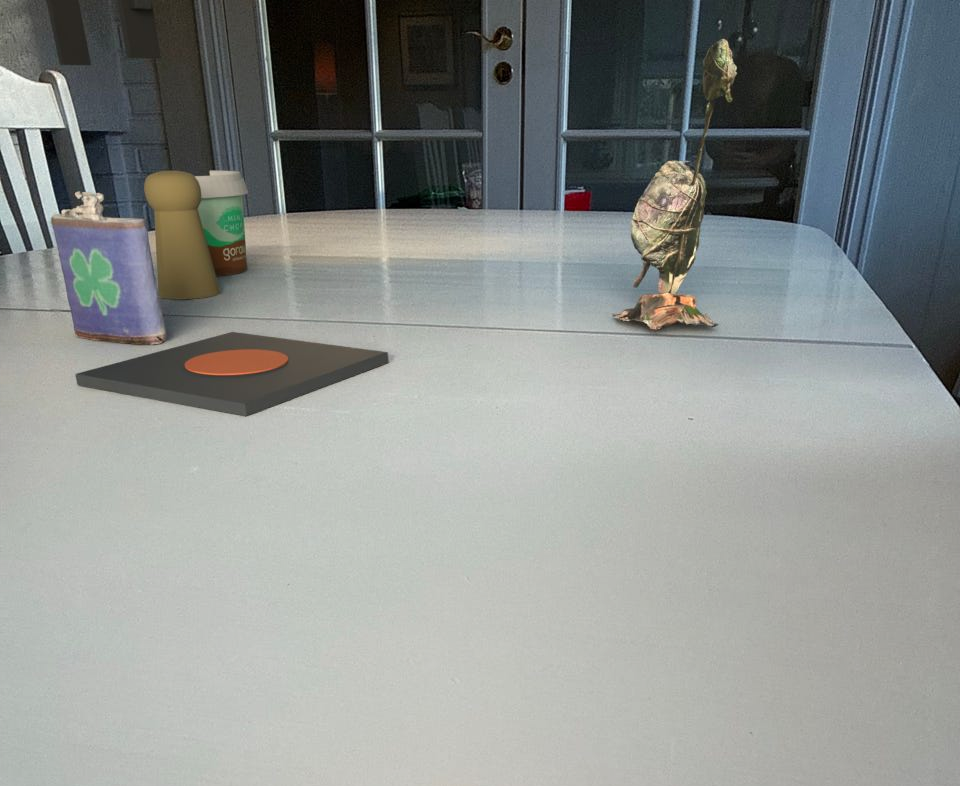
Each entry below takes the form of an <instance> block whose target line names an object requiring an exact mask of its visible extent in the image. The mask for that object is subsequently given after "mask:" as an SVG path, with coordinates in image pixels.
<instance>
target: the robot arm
mask: <svg viewBox="0 0 960 786" xmlns="http://www.w3.org/2000/svg"><path fill="white" fill-rule="evenodd" d="M45 2H46V6H47V10H48V11H47V12H48V15H49V16H48V17H49V21H50V25H51V29H52V34H53V39H54V44H55V48H56V54H57V59H58V62H59V63H58V64H59V66H92V62H91V57H90V51H89V47H88V41H87V37H86V32H85V27H84V22H83V18H82V17H83V15H82V12H81V11H82V10H81V6H80V2H79V0H45ZM116 3H117V4H116V5H117V8H118V15H119V20H120V26H121V31H122V36H123V42H124V48H125V53H126V54H125V55H126V59H145V60H146V59H150V60H151V59H153V60H157V59H162V57H161V49H160V43H159V38H158V32H157V26H156V25H157V24H156V21H155V13H154V7H153V0H116Z"/></svg>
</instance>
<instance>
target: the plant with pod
mask: <svg viewBox="0 0 960 786" xmlns="http://www.w3.org/2000/svg"><path fill="white" fill-rule="evenodd" d="M733 56H734V55H733V51H732V50H731V48H730V46H729V41H728V40H726V39H725V38H722V39H719V40H718V41H716V42H715V43H714V44H713V45H711V46H710V47H709V48H708V50H707V52H706V55H705V57H704V59H703V60H702V65H701V66H702V67H703V68H702V92H703V96H704V98H705V100H706V101H708V103H707V104H706V109H705V114H704V115H705V116H704V117H705V120H704V122H705V123H704V127H703V132H702V136H701V139H700V143H699V146H698V150H697V155H696V161H695V165H694V170H693V169H692V168H691V167H690V166H689V165H686V163H690V162H691V160H684V161H682V160H668V161H667V162H665V163H664V164H663V165H662V166H661V167H660V169H658V172H656V173H655V174H654V176H653V177H652V178H651V179H650V181H649V183H648V185H647V186H646V188H645V189H644V191H643V193H642V195H641V196H640V197H639V198H638V200H637V203H636V206H635V207H634V211H633V215H632V217H631V220H630V221H631V222H630V239H631V241H632V244H633V247H634V250H636V251H637V253H638V254H640V255H641V257H640V259H641V260H642V261H643V262H642V270H641V272H640V274H638V275H637V277H636V278H635V279H634V280H633V284H632V287H633V288H638V287H639V286H640V284H641V283H642V281H643V280H644V278H645V277H646V276H647V273H648V271H649V269H650V267H654V268H655V269H657V270H658V273H659V274H658V283H657V284H658V286H657V291H658V293H647V294H643V295H641V296H640V297H639V299H638V301H637V303H636V305H635V306H634V307H632V308H626V309H623V311H622V312H621V313H617V314H615V313H612V316H611V317H615V319H616V320H620V321H621V320H622V321H623V322H625V321H627V322H630V321H633V320H634V321H636V322H642V323H644V324H646V325H647V326H648V327H649V329H651V330H659V329H663V327H668V326H670V325H673V324H675V323H678V322H679V323H681V324H684V323H685V324H686V325H690V324H691V325H693V326H697V325H698V326H701V325H703V326H706V327H708V328H715V327H716V328H717V326H719V325H720V323H716V322H715V323H713V322H714V320H712V318H711V316H709V315H707V313H705V314H704V313H703V312H701V311H699V309H698V307H697V299H696V297H695V296H693V295H691V294H681V293H678V291H679V288H680V287H681V285H682V283H683V282H684V280H685V278H686V277H687V275H688V273H689V271H690V270H691V268H692V266H693V265H694V263H695V260H696V253H697V250H698V249H699V248H700V235H701V234H700V233H701V226H702V223H703V219H704V215H705V207H706V202H705V201H706V196H707V194H708V192H707V182H706V181H705V180H704V177H703V175H702V174H701V173H699V171H700V170H699V169H700V163H701V160H702V155H703V148H704V146H705V140H706V139H705V138H706V137H707V133H708V130H709V126H710V122H711V118H712V115H713V112H714V107H715V101H716V100H718V99H719V98H721V97H723V96H725V99H726V101H727V102H728V103H731V102H732V101H733V97H732V94H731V87H732V86H733V84H734V82H735V78H736V76H737V74H738V72H737V69H738V67H737V65H736V64H735V61H734V60H733Z"/></svg>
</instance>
